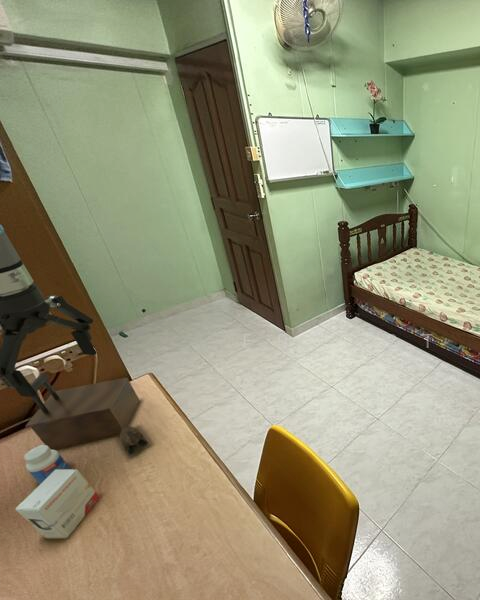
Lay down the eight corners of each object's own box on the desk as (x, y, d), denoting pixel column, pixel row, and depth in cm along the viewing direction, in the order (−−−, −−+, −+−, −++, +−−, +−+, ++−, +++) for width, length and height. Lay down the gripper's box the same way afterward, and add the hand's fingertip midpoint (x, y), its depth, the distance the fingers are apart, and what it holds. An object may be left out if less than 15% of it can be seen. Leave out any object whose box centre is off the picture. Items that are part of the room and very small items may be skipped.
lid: (26, 428, 79) (4, 402, 74) (55, 393, 89) (37, 368, 84) (110, 410, 84) (94, 384, 79) (128, 379, 94) (115, 355, 90)
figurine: (157, 455, 83) (145, 433, 79) (137, 468, 80) (123, 446, 76) (138, 428, 90) (126, 407, 86) (119, 439, 87) (105, 418, 83)
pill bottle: (57, 488, 75) (34, 463, 71) (34, 488, 75) (11, 463, 71) (77, 467, 80) (58, 442, 75) (57, 466, 80) (36, 442, 75)
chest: (51, 452, 84) (30, 427, 79) (75, 416, 94) (58, 392, 89) (125, 434, 89) (110, 410, 84) (140, 402, 99) (128, 379, 94)
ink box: (81, 497, 74) (55, 467, 68) (102, 498, 74) (78, 467, 68) (44, 540, 66) (11, 510, 60) (68, 540, 66) (37, 510, 60)
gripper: (-63, 326, 49) (15, 418, 59) (86, 265, 71) (124, 340, 81) (-107, 323, 49) (-22, 416, 60) (55, 263, 71) (96, 339, 81)
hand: (62, 372), depth 70 cm, fingers open, 13 cm apart
